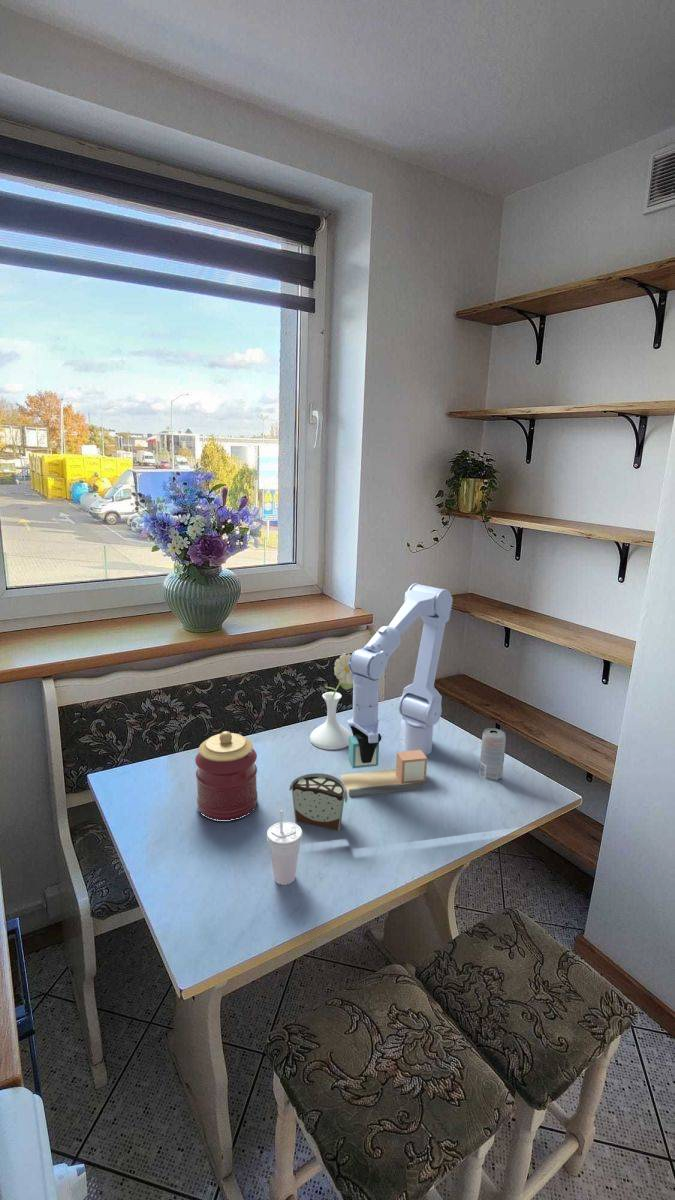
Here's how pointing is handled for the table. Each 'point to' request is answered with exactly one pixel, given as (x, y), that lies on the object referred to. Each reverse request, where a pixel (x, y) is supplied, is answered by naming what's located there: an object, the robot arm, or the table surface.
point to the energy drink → (492, 754)
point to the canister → (226, 776)
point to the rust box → (411, 766)
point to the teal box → (355, 754)
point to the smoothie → (284, 849)
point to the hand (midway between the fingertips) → (363, 756)
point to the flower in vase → (334, 712)
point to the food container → (319, 800)
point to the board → (375, 783)
